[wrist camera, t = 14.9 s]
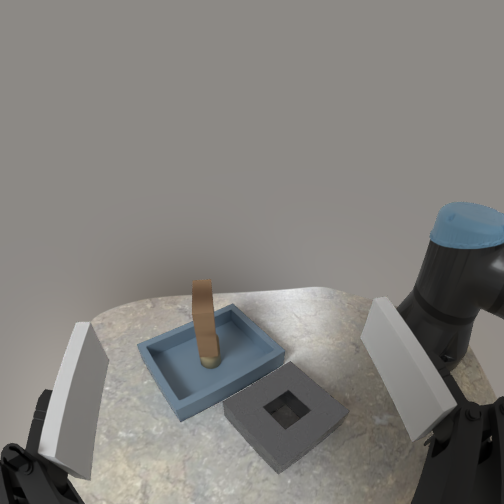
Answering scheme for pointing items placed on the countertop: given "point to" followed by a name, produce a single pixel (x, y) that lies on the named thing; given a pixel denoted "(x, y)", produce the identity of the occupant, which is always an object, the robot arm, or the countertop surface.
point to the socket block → (269, 430)
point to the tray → (200, 378)
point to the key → (205, 324)
